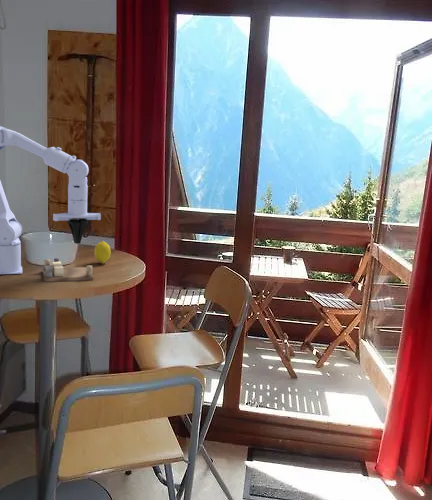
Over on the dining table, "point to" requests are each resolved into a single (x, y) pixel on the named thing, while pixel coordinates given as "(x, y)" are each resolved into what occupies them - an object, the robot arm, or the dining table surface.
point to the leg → (57, 267)
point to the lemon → (102, 252)
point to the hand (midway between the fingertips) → (77, 243)
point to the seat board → (67, 273)
